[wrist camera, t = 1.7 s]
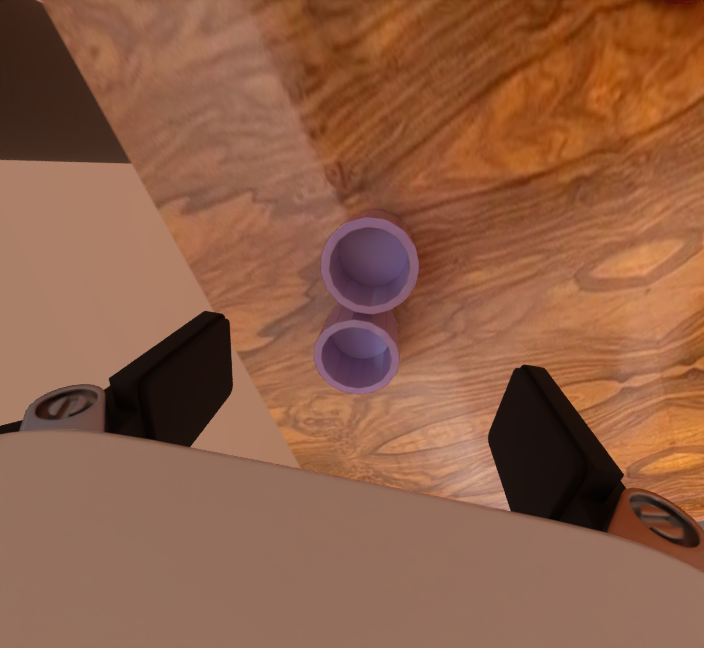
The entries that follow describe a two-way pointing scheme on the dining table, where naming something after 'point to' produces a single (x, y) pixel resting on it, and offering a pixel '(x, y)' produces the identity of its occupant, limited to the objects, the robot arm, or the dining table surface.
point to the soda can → (679, 1)
